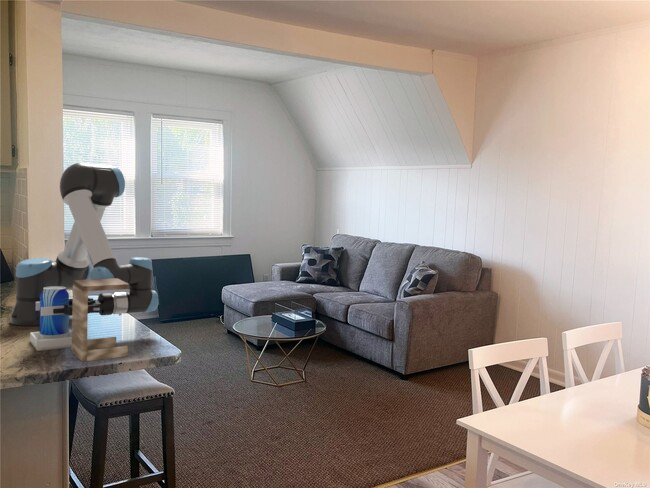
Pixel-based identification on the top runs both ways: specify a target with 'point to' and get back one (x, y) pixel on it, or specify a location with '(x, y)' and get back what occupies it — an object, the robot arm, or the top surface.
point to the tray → (50, 341)
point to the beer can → (54, 323)
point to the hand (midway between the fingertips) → (38, 308)
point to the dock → (81, 319)
